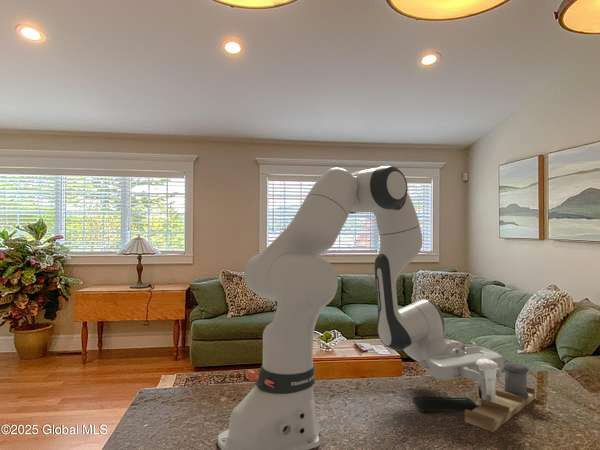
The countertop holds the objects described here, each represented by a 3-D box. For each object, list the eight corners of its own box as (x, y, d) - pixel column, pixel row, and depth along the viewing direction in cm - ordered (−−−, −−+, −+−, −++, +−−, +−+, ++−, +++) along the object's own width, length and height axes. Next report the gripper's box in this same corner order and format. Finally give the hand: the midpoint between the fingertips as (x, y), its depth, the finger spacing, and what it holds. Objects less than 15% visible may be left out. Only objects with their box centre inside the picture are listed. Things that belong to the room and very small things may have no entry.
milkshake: (504, 403, 93) (503, 359, 93) (479, 402, 94) (478, 358, 94) (497, 395, 98) (497, 353, 97) (474, 393, 99) (473, 352, 98)
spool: (523, 400, 103) (523, 372, 103) (499, 393, 107) (499, 366, 107) (531, 394, 107) (531, 367, 107) (508, 387, 111) (508, 361, 111)
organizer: (492, 432, 90) (493, 419, 90) (464, 421, 95) (464, 410, 95) (534, 398, 107) (534, 388, 107) (509, 391, 112) (509, 381, 112)
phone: (411, 397, 106) (469, 397, 106) (411, 401, 106) (469, 402, 106) (419, 410, 99) (482, 411, 98) (419, 415, 99) (482, 416, 98)
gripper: (415, 350, 104) (455, 368, 91) (477, 341, 111) (522, 356, 99) (415, 375, 104) (455, 396, 91) (477, 364, 111) (521, 382, 99)
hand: (490, 375), depth 95 cm, fingers closed on milkshake, 4 cm apart
